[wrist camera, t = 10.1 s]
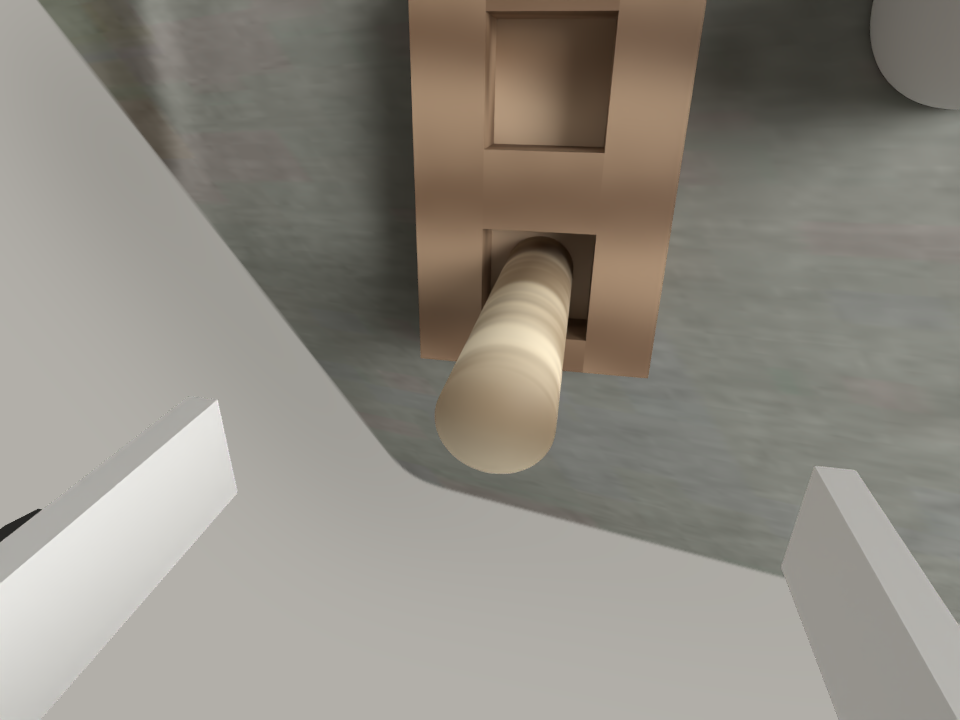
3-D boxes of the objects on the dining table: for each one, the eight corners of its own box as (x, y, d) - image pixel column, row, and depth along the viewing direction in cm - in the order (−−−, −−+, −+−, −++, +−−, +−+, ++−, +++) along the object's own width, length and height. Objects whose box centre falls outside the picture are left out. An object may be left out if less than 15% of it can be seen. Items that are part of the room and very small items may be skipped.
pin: (507, 234, 31) (433, 362, 16) (576, 237, 30) (560, 374, 16) (505, 298, 32) (436, 466, 18) (570, 303, 32) (551, 480, 17)
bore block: (431, -24, 27) (406, -40, 24) (697, -28, 25) (713, -46, 22) (438, 330, 35) (420, 358, 31) (641, 346, 33) (648, 378, 29)
